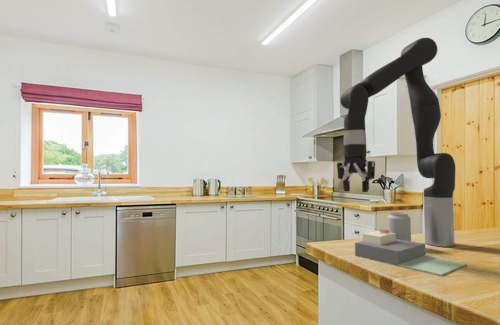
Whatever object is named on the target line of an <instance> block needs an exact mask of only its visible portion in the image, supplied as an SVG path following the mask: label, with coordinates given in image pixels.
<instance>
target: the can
mask: <svg viewBox="0 0 500 325" xmlns="http://www.w3.org/2000/svg"><path fill="white" fill-rule="evenodd" d="M411 223H412V222H411V217H410V216H409V213H408V212H403V211H402V212H399V211H393V212H391V211H390V212H388V215H387V216H386V224H387V225H386V227H387V228H386V229H389V232H390V233H396V239H400V240H406V241H412V232H411V231H412V230H411V229H412V228H411V227H412V226H411Z"/></svg>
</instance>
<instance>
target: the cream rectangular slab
mask: <svg viewBox="0 0 500 325" xmlns="http://www.w3.org/2000/svg"><path fill="white" fill-rule="evenodd" d="M362 241H363V242H368V243H373V244H378V245H382V244H386V243H390V242H394V241H396V233H390V232H389V229H387V228H380V229H379V230H376V231H370V232H365V233H362Z"/></svg>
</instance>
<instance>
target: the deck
mask: <svg viewBox="0 0 500 325" xmlns="http://www.w3.org/2000/svg"><path fill="white" fill-rule="evenodd" d="M354 253H355V254H354V255H355V256H357V257H360V258H363V259H369V260H373V261H376V262H380V263H386V264H389V265H394V266H397V267H399V266H398V264H401V263H404V262H407V261H410V260H413V259H416V258H419V257H422V256H425V255H426V243H425V242H424V243H423V242H417V241H412V240H411V241H406V240H400V239H396V241H394V242H390V243H386V244H382V245H378V244H373V243H368V242H363V240H360V241H356V242H354Z"/></svg>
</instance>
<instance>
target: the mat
mask: <svg viewBox="0 0 500 325" xmlns="http://www.w3.org/2000/svg"><path fill="white" fill-rule="evenodd" d="M465 266H467V263H465V262H460V261H456V260H450V259H446V258H440V257H435V256H429V255H426V254H425V256H422V257H419V258H416V259H413V260H410V261H407V262H404V263H401V264H398V266H397V267H402V268H406V269H409V270H414V271H417V272H423V273H427V274H430V275H431V274H432V275H435V276H438V277H443V276H445V275H447V274H449V273H452V272H454V271H456V270H459V269H462V268H463V267H465Z"/></svg>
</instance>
